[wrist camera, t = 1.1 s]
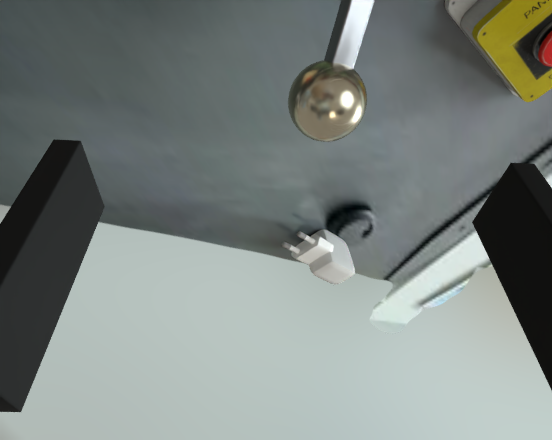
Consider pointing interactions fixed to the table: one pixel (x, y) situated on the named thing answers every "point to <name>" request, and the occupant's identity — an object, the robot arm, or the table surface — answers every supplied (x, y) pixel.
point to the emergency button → (511, 40)
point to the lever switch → (333, 80)
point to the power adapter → (324, 256)
